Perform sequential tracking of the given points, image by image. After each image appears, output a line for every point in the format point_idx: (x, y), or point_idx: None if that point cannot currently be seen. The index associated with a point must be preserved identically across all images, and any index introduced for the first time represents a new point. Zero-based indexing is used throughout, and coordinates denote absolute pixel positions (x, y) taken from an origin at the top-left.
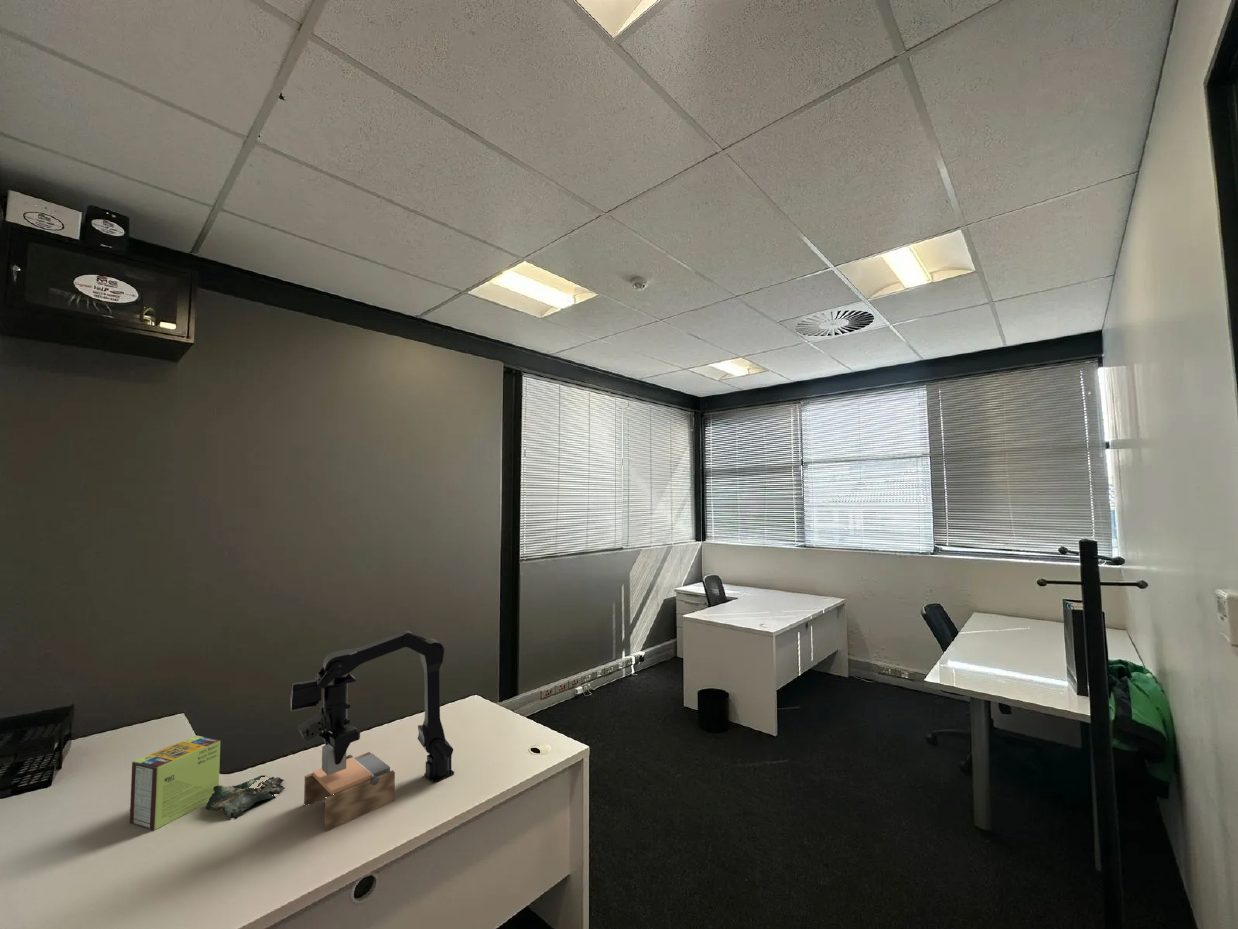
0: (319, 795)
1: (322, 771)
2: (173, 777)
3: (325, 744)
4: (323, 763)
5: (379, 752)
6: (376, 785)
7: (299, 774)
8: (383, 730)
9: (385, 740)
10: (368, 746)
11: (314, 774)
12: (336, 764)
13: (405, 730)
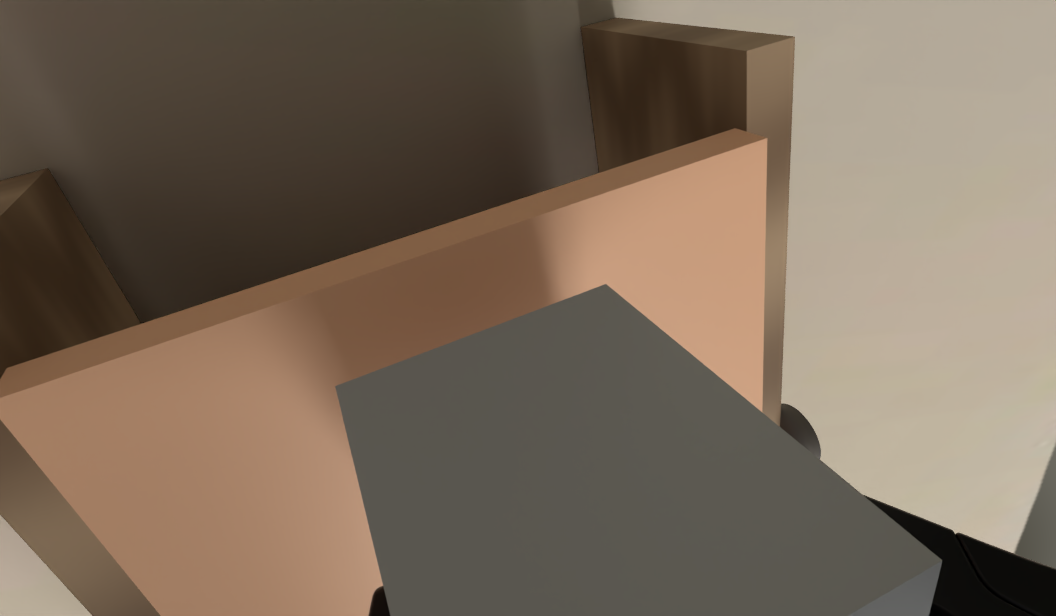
0: (614, 147)
1: (691, 247)
2: None
3: (986, 573)
4: (604, 370)
5: (873, 450)
6: None
7: (1026, 21)
8: (1035, 444)
9: (951, 463)
10: (968, 394)
11: (702, 154)
12: (376, 597)
13: (954, 531)
